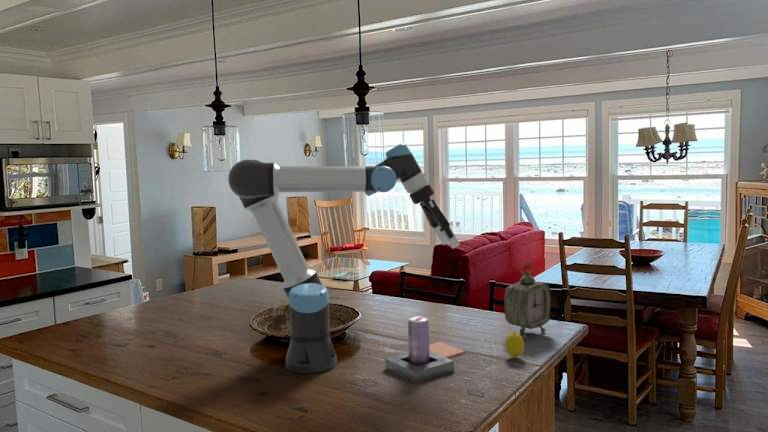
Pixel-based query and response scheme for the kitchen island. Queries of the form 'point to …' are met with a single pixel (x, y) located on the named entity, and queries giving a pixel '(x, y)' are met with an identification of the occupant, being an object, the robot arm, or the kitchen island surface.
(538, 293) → the tabletop clock
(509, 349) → the lemon
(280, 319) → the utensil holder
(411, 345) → the beverage can
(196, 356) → the kitchen island surface
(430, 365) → the socket block
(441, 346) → the terracotta tile
